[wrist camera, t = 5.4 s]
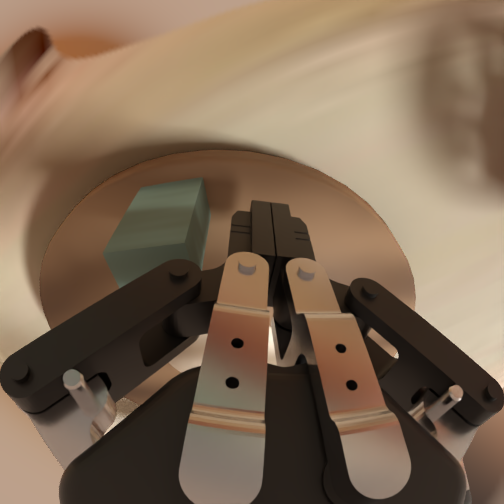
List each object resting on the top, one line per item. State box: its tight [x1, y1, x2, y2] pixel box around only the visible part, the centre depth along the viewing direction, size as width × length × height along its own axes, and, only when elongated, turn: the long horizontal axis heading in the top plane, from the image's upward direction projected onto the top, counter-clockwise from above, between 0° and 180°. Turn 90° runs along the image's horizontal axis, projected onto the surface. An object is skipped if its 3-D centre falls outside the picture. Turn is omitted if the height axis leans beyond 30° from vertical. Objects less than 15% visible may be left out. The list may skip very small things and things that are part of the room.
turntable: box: [40, 150, 416, 405], centre depth 21 cm, size 28×28×7 cm
